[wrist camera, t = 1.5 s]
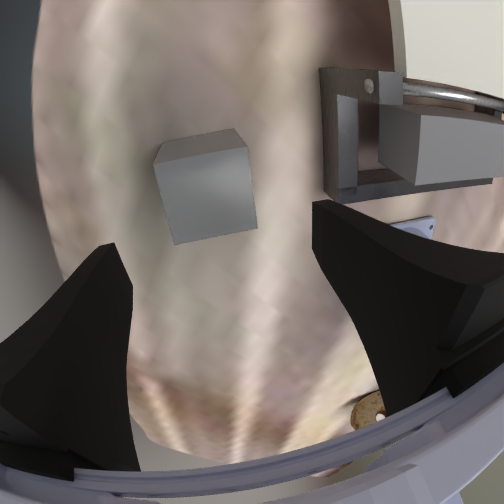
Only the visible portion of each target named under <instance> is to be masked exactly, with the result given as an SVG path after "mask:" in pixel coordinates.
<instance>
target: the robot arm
mask: <svg viewBox="0 0 504 504" xmlns="http://www.w3.org/2000/svg"><path fill="white" fill-rule="evenodd" d="M435 222H436V220H435V218H434V217H432V216H431V217H426V218H421V219H416V220H411V221H406V222H401V223H396V224H391V225H388V224H386V223H383V222H381V221H379V220H376V219H374V218H372V217H369V216H367V215H365V214H363V213H361V212H358V211H356V210H354V209H352V208H349V207H347V206H345V205H342V204H340V203H337V202H335V201H332V200H328V199H327V200H321V201H315V202H312V250H313V252H314V254H315V257H316V259H317V261H318V263H319V265H320V268H321V270H322V271H323V273H324V275H325V276H326V278H327V280H328V281H329V283H330V284H331V286H332V288H333V289H334V291H335V292H336V294H337V296H338V297H339V299H340V300H341V302H342V304H343V305H344V307H345V308H346V310H347V312H348V313H349V315H350V317H351V319H352V321H353V323H354V325H355V327H356V329H357V332H358V334H359V336H360V338H361V341H362V343H363V345H364V348H365V350H366V353H367V355H368V358H369V361H370V363H371V366H372V369H373V372H374V375H375V378H376V380H377V383H378V386H379V390H380V393H381V397H382V400H383V404H384V407H385V411H386V415H387V418H384V419H382V420H380V421H378V422H375V423H373V424H370V425H368V426H366V427H363V428H361V429H358V430H355V431H353V432H350V433H347V434H345V435H342V436H339V437H336V438H333V439H330V440H327V441H324V442H321V443H318V444H315V445H312V446H308V447H305V448H301V449H298V450H294V451H290V452H286V453H283V454H278V455H274V456H270V457H266V458H261V459H256V460H251V461H246V462H240V463H234V464H228V465H222V466H215V467H207V468H197V469H188V470H174V471H149V472H141V470H140V466H139V462H138V458H137V454H136V450H135V445H134V441H133V435H132V430H131V423H130V417H129V407H128V397H127V379H126V365H127V352H128V343H129V335H130V327H131V319H132V311H133V285H132V283H131V281H130V278H129V276H128V274H127V272H126V269H125V267H124V265H123V263H122V260H121V258H120V255H119V253H118V251H117V248H116V246H115V243H109V244H105V245H101V246H99V247H98V248H96V249H95V250H94V251H93V252H92V253H91V254H90V255H89V256H88V257H87V258H86V259H85V260H84V261H83V262H82V264H81V265H80V266H79V267H78V268H77V269H76V270H75V271H74V272H73V274H72V275H71V276H70V277H69V278H68V279H67V280H66V281H65V282H64V284H63V285H62V286H61V287H60V288H59V289H58V290H57V291H56V292H55V293H54V294H53V296H52V297H51V298H50V299H49V300H48V301H47V302H46V303H45V304H44V305H43V306H42V307H41V308H40V309H39V310H38V311H37V312H36V313H35V314H34V315H33V316H32V317H31V318H30V319H29V320H28V321H26V322H25V323H24V324H23V325H22V326H21V327H19V329H17V330H16V331H15V332H14V333H13V334H11V335H10V336H9V337H8V338H7V339H5V340H4V341H3V342H1V343H0V504H161V503H159V502H157V501H150V500H138V499H129V498H123V497H136V498H175V497H193V496H205V495H214V494H222V493H231V492H237V491H243V490H249V489H254V488H260V487H265V486H270V485H274V484H278V483H283V482H287V481H291V480H294V479H298V478H302V477H306V476H309V475H312V474H316V473H319V472H322V471H325V470H328V469H331V468H334V467H337V466H340V465H343V464H345V463H348V462H351V461H353V460H356V459H358V458H361V457H363V456H366V455H368V454H370V453H373V452H375V451H378V450H380V449H382V448H384V447H386V446H389V445H391V444H393V443H395V442H397V441H399V440H401V439H403V438H404V439H403V440H401V441H399V442H398V443H396V444H394V445H392V446H391V447H389V448H387V449H385V450H384V452H383V454H382V456H380V457H379V458H378V459H377V460H375V461H374V462H372V463H370V464H369V465H367V466H366V468H365V471H366V473H364V474H361V475H359V476H356V477H353V478H350V479H347V480H344V481H342V482H339V483H336V484H333V485H329V486H326V487H323V488H320V489H317V490H313V491H310V492H306V493H303V494H299V495H295V496H291V497H287V498H283V499H278V500H274V501H269V502H264V503H259V504H464V503H463V500H462V498H461V496H460V493H459V491H460V490H461V489H462V488H464V487H465V486H466V485H467V484H468V483H469V482H471V481H472V480H473V479H474V478H475V477H476V476H477V475H479V474H480V473H481V472H482V471H483V470H484V469H485V468H486V467H487V466H488V465H489V464H490V463H491V462H492V461H493V460H494V459H495V458H496V457H497V456H498V455H499V454H500V453H501V452H502V451H503V453H504V253H497V252H487V251H480V250H474V249H468V248H463V247H458V246H454V245H449V244H446V243H442V242H438V241H434V240H431V239H432V235H433V231H434V226H435ZM407 436H408V437H407ZM405 437H406V438H405Z"/></svg>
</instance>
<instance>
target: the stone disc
mask: <svg viewBox="0 0 504 504" xmlns="http://www.w3.org/2000/svg"><path fill="white" fill-rule="evenodd" d="M377 414H383V415H384V416H385V418H387V415H386V411H385V407H384V404H383V400H382V397H381V393H380V390H379V391H376V392H374V393H371V394H369V395H367V396H366V397H364V398H363V399H361V400H360V401H359V402H358V403H357V404H356V405H355V407H354V409H353V411H352V413H351V426H352V427H353V428H354V429H355V430H358V429H361V428H363V427H366V426H368V425H370V424H373V423H375V422H377V421H376V415H377Z"/></svg>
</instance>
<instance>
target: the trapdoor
mask: <svg viewBox="0 0 504 504" xmlns="http://www.w3.org/2000/svg"><path fill="white" fill-rule="evenodd" d="M388 3H389V10H390V18H391V27H392V37H393V50H394V68H395V73H403V77H405V78H412V79H419V80H426V81H432V82H437V83H443V84H448V85H453V86H457V87H462V88H466V89H470V90H474V91H478V92H482V93H486V94H489V95H493V96H496V97H499V98H503V99H504V0H388ZM378 162H379V163H380V164H382V165H384V166H385V167H387V168H389V169H390V170H392V171H393V172H395V173H397V174H398V175H400V176H401V177H403V178H404V179H406V180H407V181H409V182H410V183H412V184H413V185H415V186H416V185H424V184H433V183H442V182H451V181H461V180H471V179H482V178H494V177H504V121H503V120H501V119H498V118H495V117H493V116H490V115H488V114H483V113H478V112H472V111H465V110H459V109H452V108H444V107H435V106H425V105H413V104H403V105H385V104H379V150H378Z"/></svg>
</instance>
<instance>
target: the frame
mask: <svg viewBox="0 0 504 504" xmlns="http://www.w3.org/2000/svg"><path fill="white" fill-rule="evenodd" d="M319 74H320V88H321V104H322V124H323V155H324V192H325V193H326V194H327V195H328V196H329V197H330V198H331V199H332V200H333V201H335V202H337V203H340V204H348V203H354V202H361V201H367V200H374V199H380V198H387V197H394V196H400V195H407V194H415V193H422V192H429V191H437V190H444V189H452V188H460V187H468V186H477V185H485V184H492V181H493V178H482V179H471V180H461V181H451V182H442V183H433V184H424V185H416V186H415V185H413V184H412V183H410V182H409V181H407V180H406V179H404V178H403V177H401V176H400V175H398V174H397V173H395V172H393V171H392V170H390V169H379V170H369V171H360V172H358V99H361V100H365V101H369V102H373V103H376V104H385V105H403V95H410V96H420V97H429V98H437V99H444V100H450V101H457V102H462V103H468V104H473V105H476V112H478V113H483V114H488V115H490V116H493V117H495V118H498V119H501V117H502V113H503V114H504V99H503V98H499V97H496V96H493V95H489V94H486V93H482V92H478V91H476V94H472V93H467V92H463V91H458V90H453V89H448V88H442V87H437V86H431V85H424V84H417V83H409V82H403V73H395V72H386V71H376V70H363V69H344V68H319Z"/></svg>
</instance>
